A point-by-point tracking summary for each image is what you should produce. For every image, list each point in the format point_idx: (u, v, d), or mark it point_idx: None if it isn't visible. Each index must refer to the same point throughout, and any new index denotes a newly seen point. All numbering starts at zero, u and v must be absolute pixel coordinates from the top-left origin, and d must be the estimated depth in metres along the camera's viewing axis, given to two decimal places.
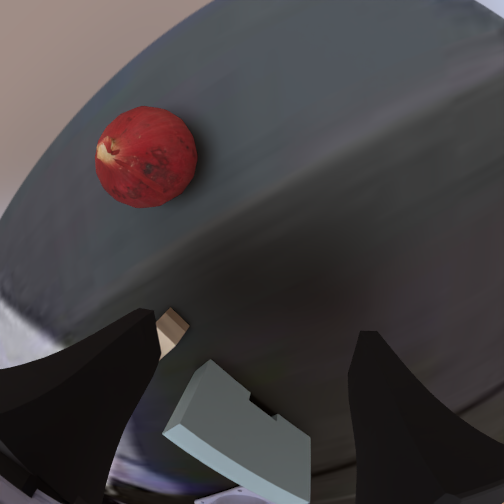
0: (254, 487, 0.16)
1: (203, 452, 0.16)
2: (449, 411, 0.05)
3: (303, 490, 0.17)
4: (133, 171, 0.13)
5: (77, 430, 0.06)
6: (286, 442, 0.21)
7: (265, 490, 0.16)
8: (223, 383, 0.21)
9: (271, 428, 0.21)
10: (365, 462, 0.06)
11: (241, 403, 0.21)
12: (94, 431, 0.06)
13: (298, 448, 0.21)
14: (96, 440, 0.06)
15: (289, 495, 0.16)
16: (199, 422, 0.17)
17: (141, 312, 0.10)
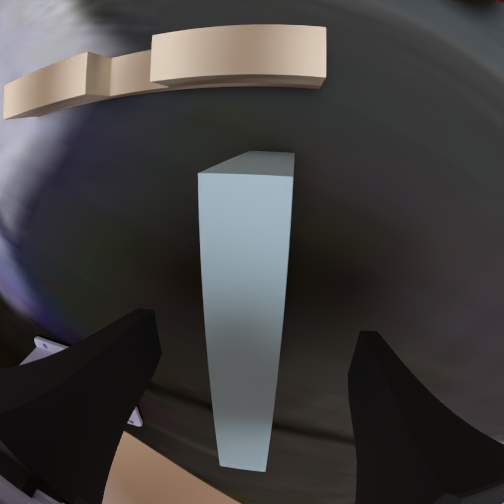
0: (229, 413, 0.09)
1: (243, 287, 0.07)
2: (449, 411, 0.05)
3: None
4: None
5: (77, 430, 0.06)
6: None
7: (239, 426, 0.09)
8: None
9: None
10: (365, 462, 0.06)
11: None
12: (94, 431, 0.06)
13: None
14: (96, 440, 0.06)
15: (258, 450, 0.10)
16: None
17: (141, 312, 0.10)
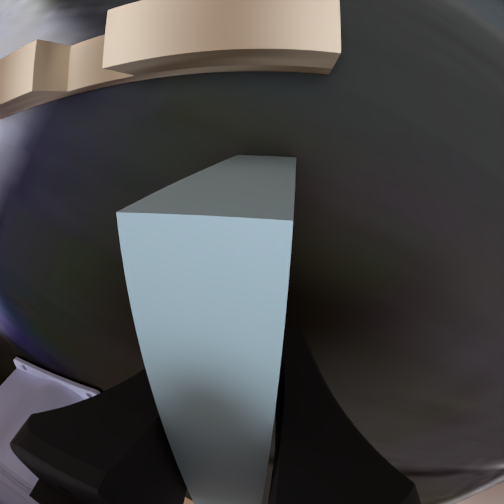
0: (208, 496, 0.06)
1: (210, 390, 0.04)
2: (344, 418, 0.05)
3: None
4: None
5: (167, 462, 0.05)
6: None
7: None
8: None
9: None
10: (274, 460, 0.07)
11: None
12: None
13: None
14: None
15: None
16: None
17: None
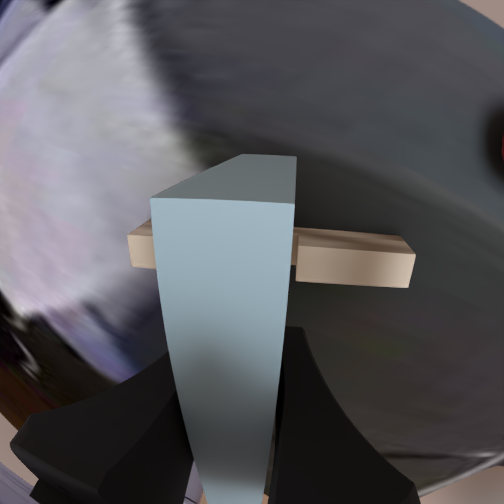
0: (215, 471, 0.07)
1: (223, 354, 0.05)
2: (344, 418, 0.05)
3: None
4: None
5: (167, 462, 0.05)
6: None
7: (228, 483, 0.07)
8: None
9: None
10: (274, 460, 0.07)
11: None
12: (178, 458, 0.06)
13: None
14: (179, 467, 0.06)
15: (251, 501, 0.08)
16: None
17: None
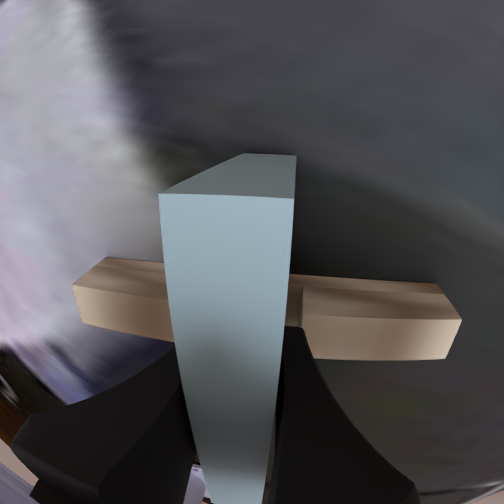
0: (217, 463, 0.07)
1: (226, 343, 0.05)
2: (344, 418, 0.05)
3: None
4: None
5: (167, 462, 0.05)
6: None
7: (230, 474, 0.08)
8: None
9: None
10: (274, 460, 0.07)
11: None
12: (178, 458, 0.06)
13: None
14: (179, 467, 0.06)
15: (252, 494, 0.08)
16: None
17: None
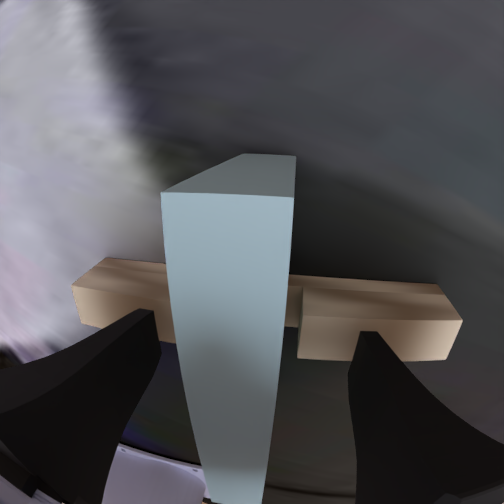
0: (217, 461, 0.07)
1: (227, 340, 0.05)
2: (449, 411, 0.05)
3: None
4: None
5: (77, 430, 0.06)
6: None
7: (230, 473, 0.08)
8: None
9: None
10: (365, 462, 0.06)
11: None
12: (94, 431, 0.06)
13: None
14: (96, 440, 0.06)
15: (252, 492, 0.08)
16: None
17: (141, 312, 0.10)
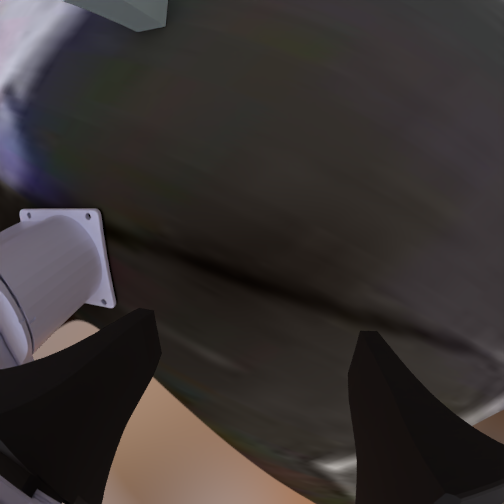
0: None
1: None
2: (449, 411, 0.05)
3: None
4: None
5: (77, 430, 0.06)
6: None
7: None
8: None
9: None
10: (365, 462, 0.06)
11: None
12: (94, 431, 0.06)
13: None
14: (96, 440, 0.06)
15: None
16: None
17: (141, 312, 0.10)
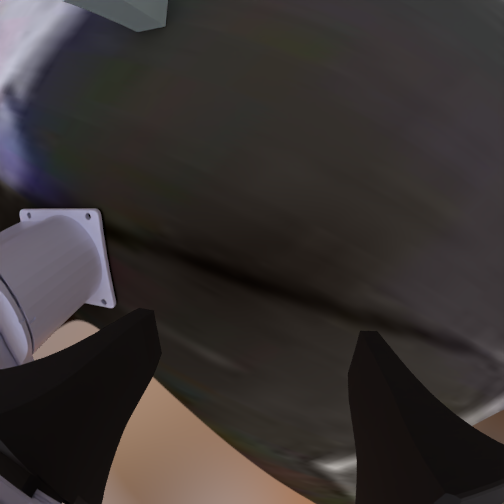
0: None
1: None
2: (449, 411, 0.05)
3: None
4: None
5: (77, 430, 0.06)
6: None
7: None
8: None
9: None
10: (365, 462, 0.06)
11: None
12: (94, 431, 0.06)
13: None
14: (96, 440, 0.06)
15: None
16: None
17: (141, 312, 0.10)
